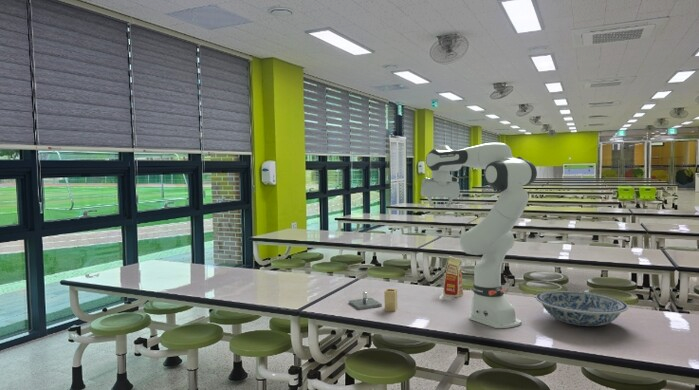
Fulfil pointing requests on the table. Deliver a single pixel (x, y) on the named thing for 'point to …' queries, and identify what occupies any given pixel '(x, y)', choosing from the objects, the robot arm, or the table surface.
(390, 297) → the sleeve
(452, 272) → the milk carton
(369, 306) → the grey peg base
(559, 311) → the ceramic bowl
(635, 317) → the table surface
